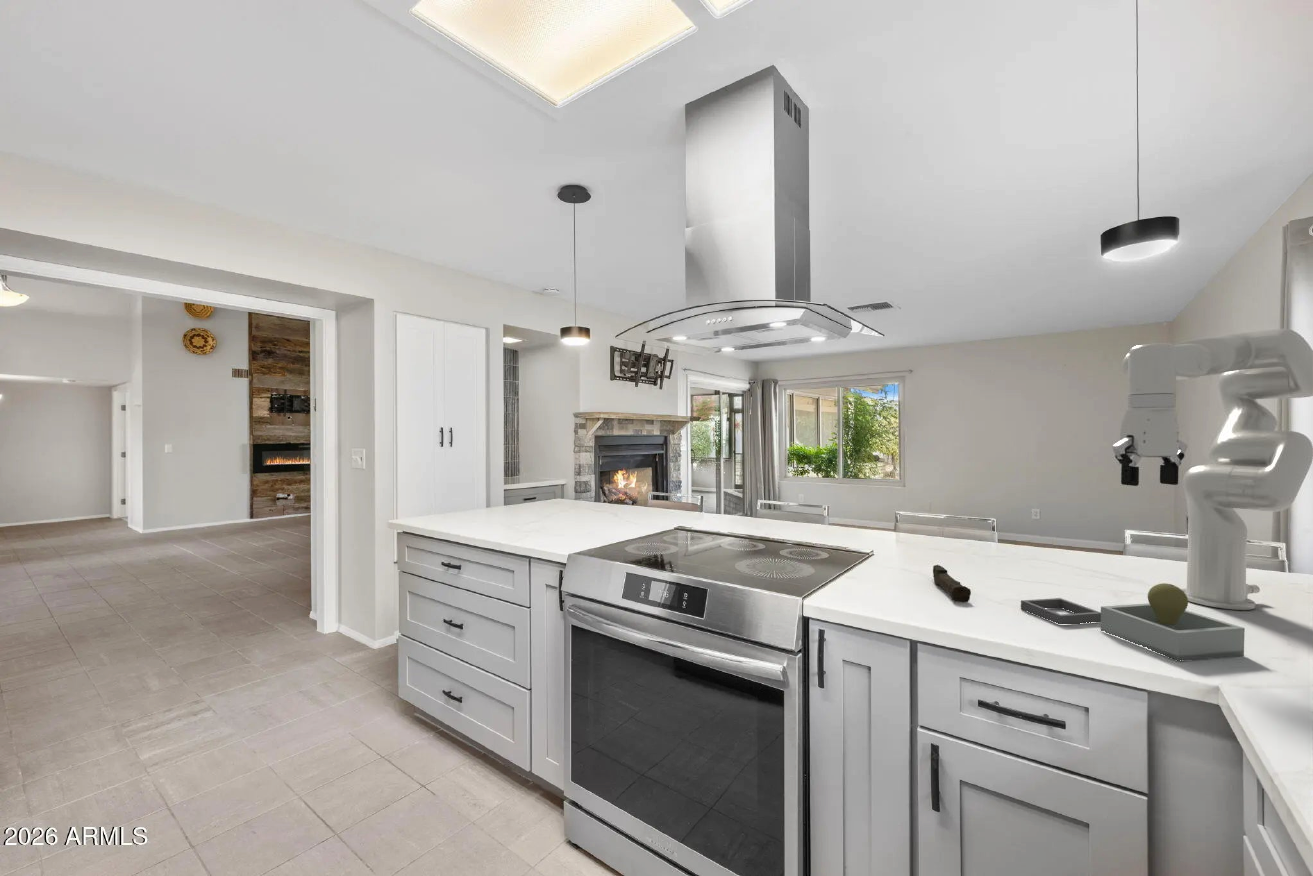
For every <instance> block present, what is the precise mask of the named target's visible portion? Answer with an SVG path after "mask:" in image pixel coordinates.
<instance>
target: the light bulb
mask: <svg viewBox="0 0 1313 876" xmlns="http://www.w3.org/2000/svg"><path fill="white" fill-rule="evenodd" d="M1181 589H1182V588H1180V587H1178V586H1176V585H1174V584H1171V583H1158V584H1155V585H1154V586H1152V587H1151V588H1150V589H1149V591H1148V592H1147V601H1148V603H1149V604H1150V605H1151V607H1152V609H1153V611H1154V613H1155V617H1156V620H1157V622H1158V624H1159V625H1162V626H1165V627H1168V628H1171V629H1174V630H1175V625H1176V624H1177V623H1178V621H1179V618H1180V616H1181V615H1182V614H1183V612H1184V611H1185V610H1187V608H1188V605H1189V601H1188V598H1187V596H1186V594H1185V593H1184V592H1183V591H1182V590H1181Z"/></svg>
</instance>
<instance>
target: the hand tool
mask: <svg viewBox="0 0 1313 876" xmlns="http://www.w3.org/2000/svg"><path fill="white" fill-rule="evenodd" d="M932 567H933V568H932V575H933V581H934V583H935V586H939V587H941V588H942V589H943V590H944V591H946V593H948V594H949V595H950V596H951V599H952V600H953V602H954V603H967V602H969V601H970V598H971V594H972V591H971V589H970V588H969V587H967V586H965V585H962V584H961V582H960V581H958V580H956V579H954V578H953V577H952V576H951V575H949V573H948V570H947V569H946V568H945V567H943V566H941V565H939V564H936V565H933V566H932Z"/></svg>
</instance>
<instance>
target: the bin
mask: <svg viewBox="0 0 1313 876" xmlns="http://www.w3.org/2000/svg"><path fill="white" fill-rule="evenodd" d="M1100 612H1101V623H1100V630H1101V631H1105V632H1106V633H1109V634H1112V635H1115V636H1118V637H1120V638H1123V639H1125V640H1128V641H1130V642H1133V643H1135V644H1138V645H1142V646H1143V647H1147V648H1148V649H1151V650H1152V651H1155V652H1157V653H1160V654H1163V655H1165V656H1167V657H1169V658H1168V659H1170V658H1172V659H1173V661H1175V660H1177V661H1180V660H1181V661H1180V662H1183V661H1182V660H1192V661H1201V660H1200V659H1203V660H1211V658H1213V659H1214V658H1215V659H1223V658H1224V659H1225V658H1235V657H1244V656H1245V627H1242V626H1238V625H1236V624H1232V623H1230V622H1225V621H1223V620H1219V619H1216V618H1212V617H1210V616H1207V615H1202V614H1199V613H1196V612H1193V611H1189V610H1188V609H1186V610H1185V611H1184V612H1183V614H1182V615H1181V616H1180V618H1179V621H1178V623H1177V624H1176V625H1175V630H1174V629H1171V628H1168V627H1165V626H1162V625H1159V624H1158V622H1157V620H1156V617H1155V613H1154V611H1153V609H1152V607H1151V605H1150V604H1149V602H1147V603H1135V604H1132V603H1131V604H1121V605H1120V604H1119V605H1106V606H1105V605H1103V606H1100ZM1101 631H1100V632H1101ZM1106 633H1105V634H1106ZM1152 651H1151V652H1152ZM1157 653H1156V654H1157ZM1167 657H1166V658H1167ZM1209 658H1210V659H1209ZM1172 659H1171V660H1172ZM1198 659H1199V660H1198ZM1213 659H1212V660H1213ZM1177 661H1176V662H1177Z"/></svg>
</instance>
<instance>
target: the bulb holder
mask: <svg viewBox="0 0 1313 876" xmlns="http://www.w3.org/2000/svg"><path fill="white" fill-rule="evenodd" d="M1045 608H1055V609H1061V608H1064V609H1065V610H1064V609H1063V610H1064V611H1066V610H1069V611H1072V612H1074V613H1075V614H1074V613H1072V612H1071V613H1064V614H1061V613H1058V612H1055V611H1053V610H1052V609H1045ZM1021 609H1022V611H1024V610H1025V611H1024V612H1026V611H1028V612H1027V613H1029V612H1030V613H1029V614H1031V613H1033V614H1035V615H1034V616H1036V615H1038V616H1040V617H1039V618H1041V617H1043V618H1045V619H1044V620H1046V619H1048V620H1051V621H1053V622H1056V623H1058V624H1078V625H1081V624H1080V623H1086V622H1087V623H1089V622H1090V623H1091V622H1101V611H1098V610H1095V609H1092V608H1089V607H1086V606H1084V605H1081V604H1079V603H1076V602H1072V601H1069V600H1067V599H1064V598H1061V597H1055V598H1054V597H1053V598H1052V597H1051V598H1038V599H1024V600H1020V610H1021ZM1069 611H1068V612H1069ZM1033 614H1032V615H1033ZM1038 616H1037V617H1038ZM1043 618H1042V619H1043ZM1048 620H1047V621H1048ZM1053 622H1052V623H1053ZM1058 624H1057V625H1058Z"/></svg>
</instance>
